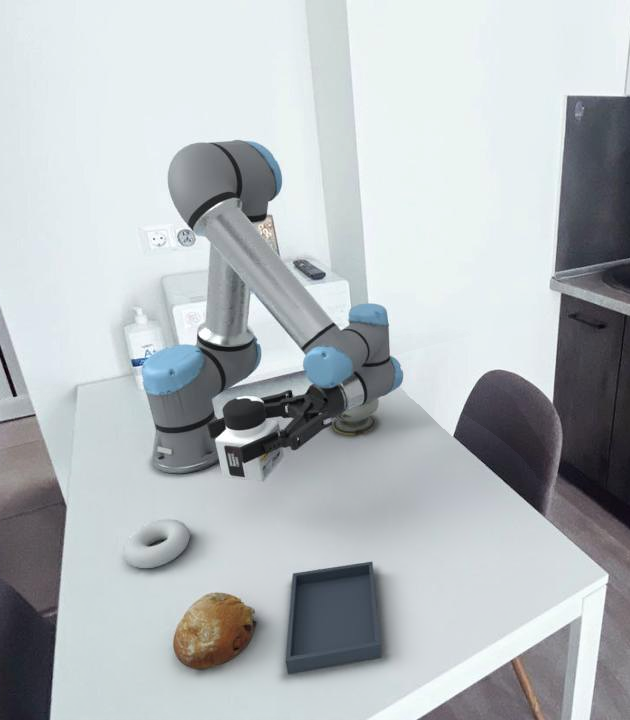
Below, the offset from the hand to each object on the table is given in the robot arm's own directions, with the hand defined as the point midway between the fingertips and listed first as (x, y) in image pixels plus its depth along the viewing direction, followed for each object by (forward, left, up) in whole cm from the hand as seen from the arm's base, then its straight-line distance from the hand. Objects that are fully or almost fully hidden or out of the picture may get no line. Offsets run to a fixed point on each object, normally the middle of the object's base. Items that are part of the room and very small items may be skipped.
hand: (224, 443), depth 90 cm
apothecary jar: (-32, +21, -18) cm, 42 cm away
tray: (+23, +16, -18) cm, 33 cm away
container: (-2, +3, -7) cm, 8 cm away
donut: (+3, -13, -18) cm, 22 cm away
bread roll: (+23, 0, -18) cm, 29 cm away
